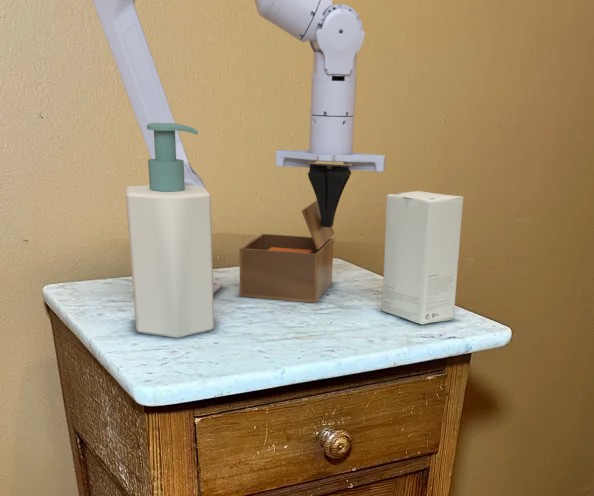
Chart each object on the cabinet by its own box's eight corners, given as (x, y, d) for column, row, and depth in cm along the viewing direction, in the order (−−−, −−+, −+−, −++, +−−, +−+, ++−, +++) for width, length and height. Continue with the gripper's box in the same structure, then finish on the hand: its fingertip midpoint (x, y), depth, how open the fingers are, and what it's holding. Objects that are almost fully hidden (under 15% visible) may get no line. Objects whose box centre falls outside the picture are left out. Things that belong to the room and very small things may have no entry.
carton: (261, 277, 117) (261, 233, 114) (331, 283, 115) (333, 238, 112) (239, 296, 107) (239, 248, 104) (316, 303, 105) (318, 254, 102)
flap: (318, 198, 110) (320, 197, 110) (332, 234, 112) (334, 233, 112) (301, 210, 100) (303, 209, 100) (317, 249, 102) (319, 249, 102)
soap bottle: (216, 337, 90) (211, 127, 80) (137, 339, 89) (121, 125, 78) (207, 313, 99) (201, 121, 88) (134, 315, 97) (119, 119, 87)
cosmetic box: (454, 320, 99) (469, 196, 92) (418, 326, 96) (432, 199, 89) (411, 305, 105) (422, 188, 98) (376, 310, 102) (386, 190, 95)
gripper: (270, 114, 98) (269, 227, 104) (384, 119, 95) (375, 234, 102) (283, 112, 104) (281, 219, 110) (390, 116, 101) (382, 225, 108)
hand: (327, 226), depth 107 cm, fingers closed
